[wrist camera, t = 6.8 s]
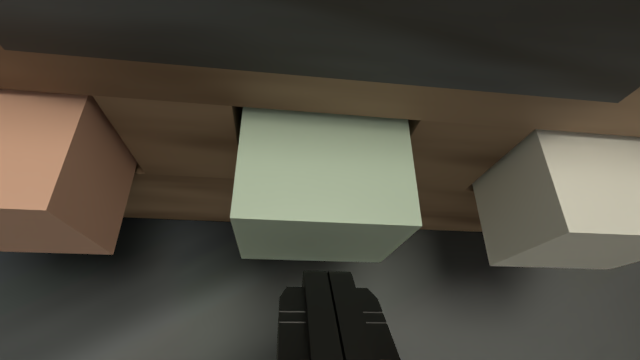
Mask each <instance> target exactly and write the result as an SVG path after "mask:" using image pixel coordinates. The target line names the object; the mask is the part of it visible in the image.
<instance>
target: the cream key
mask: <svg viewBox="0 0 640 360" xmlns="http://www.w3.org/2000/svg"><path fill="white" fill-rule="evenodd" d="M472 185H473V190H474V194H475V199H476V204H477V209H478V213H479V218H480V223H481V227H482V232H483V237H484V242H485V246H486V251H487V256H488V260H489V265H490V266H508V267H542V268H576V269H612V268H616V267H620V266H624V265H628V264H631V263H635V262H639V261H640V137H633V136H620V135H607V134H594V133H580V132H567V131H554V130H541V129H535V130H534V131H533V132H531V133H530V134H529V135H528V136H527V137H526V138H524V139H523V140H522V141H521V142H520V143H519V144H518V145H516V146H515V147H514V148H513V149H512V150H511V151H509V152H508V153H507V154H506V155H505V156H504V157H502V158H501V159H500V160H499V161H498V162H497V163H496V164H494V165H493V166H492V167H491V168H490V169H489V170H487V171H486V172H485V173H484V174H483V175H482V176H481V177H479V178H478V179H477V180H476V181H475V182H474V183H472Z"/></svg>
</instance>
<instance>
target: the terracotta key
mask: <svg viewBox="0 0 640 360" xmlns="http://www.w3.org/2000/svg"><path fill="white" fill-rule="evenodd" d="M136 165H137V161H136V159H135V158H134V156H133V155H132V154H131V152H130V151H129V149H128V148H127V146H126V145H125V143H124V142H123V140H122V139H121V137H120V136H119V134H118V133H117V131H116V130H115V128H114V127H113V125H112V124H111V123H110V121H109V120H108V118H107V117H106V115H105V114H104V112H103V111H102V109H101V108H100V106H99V105H98V103H97V102H96V100H95V99H94V97H93V96H92V95H79V94H65V93H52V92H39V91H26V90H13V89H0V251H2V252H35V253H69V254H103V255H113V254H114V250H115V246H116V242H117V238H118V235H119V231H120V227H121V223H122V219H123V215H124V212H125V208H126V204H127V200H128V196H129V192H130V189H131V185H132V181H133V177H134V173H135V169H136Z"/></svg>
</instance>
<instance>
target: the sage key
mask: <svg viewBox="0 0 640 360" xmlns="http://www.w3.org/2000/svg"><path fill="white" fill-rule="evenodd" d="M230 220H231V224H232V227H233V231H234V234H235V238H236V241H237V245H238V248H239V252H240V255H241V259H272V260H305V261H339V262H373V263H381V262H382V261H383V260H384V259H385V258H386V257H387V256H389V255H390V254H391V253H392V252H393V251H394V250H395V249H397V248H398V247H399V246H400V245H401V244H402V243H404V242H405V241H406V240H407V239H408V238H409V237H410V236H412V235H413V234H414V233H415V232H416V231H417V230H418V229H420V228H421V227H422V220H421V213H420V206H419V198H418V191H417V183H416V176H415V168H414V161H413V154H412V146H411V139H410V131H409V124H408V119H396V118H382V117H369V116H356V115H343V114H330V113H316V112H303V111H290V110H277V109H264V108H250V107H243V111H242V120H241V128H240V137H239V145H238V153H237V162H236V170H235V179H234V187H233V196H232V204H231V212H230Z"/></svg>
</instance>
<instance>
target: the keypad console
mask: <svg viewBox="0 0 640 360" xmlns="http://www.w3.org/2000/svg"><path fill="white" fill-rule="evenodd" d="M0 89H13V90H26V91H39V92H52V93H65V94H79V95H92V96H93V97H94V99H95V100H96V102H97V103H98V105H99V106H100V108H101V109H102V111H103V112H104V114H105V115H106V117H107V118H108V120H109V121H110V123H111V124H112V125H113V127H114V128H115V130H116V131H117V133H118V134H119V136H120V137H121V139H122V140H123V142H124V143H125V145H126V146H127V148H128V149H129V151H130V152H131V154H132V155H133V156H134V158H135V159H136V161H137V165H136V169H135V173H134V177H133V181H132V185H131V189H130V192H129V196H128V200H127V204H126V208H125V212H124V215H123V217H128V218H153V219H177V220H202V221H226V222H231V220H230V212H231V204H232V196H233V187H234V179H235V170H236V162H237V153H238V145H239V137H240V128H241V120H242V111H243V107H250V108H264V109H277V110H290V111H303V112H316V113H330V114H343V115H356V116H369V117H382V118H396V119H408V124H409V131H410V139H411V146H412V154H413V161H414V168H415V176H416V183H417V191H418V198H419V206H420V213H421V220H422V227H421V228H420V229H423V230H447V231H472V232H482V227H481V223H480V218H479V213H478V209H477V204H476V199H475V194H474V190H473V185H472V183H474V182H475V181H476V180H477V179H478V178H479V177H481V176H482V175H483V174H484V173H485V172H486V171H487V170H489V169H490V168H491V167H492V166H493V165H494V164H496V163H497V162H498V161H499V160H500V159H501V158H502V157H504V156H505V155H506V154H507V153H508V152H509V151H511V150H512V149H513V148H514V147H515V146H516V145H518V144H519V143H520V142H521V141H522V140H523V139H524V138H526V137H527V136H528V135H529V134H530V133H531V132H533V131H534V130H535V129H541V130H554V131H567V132H580V133H594V134H607V135H620V136H633V137H640V0H0Z"/></svg>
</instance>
